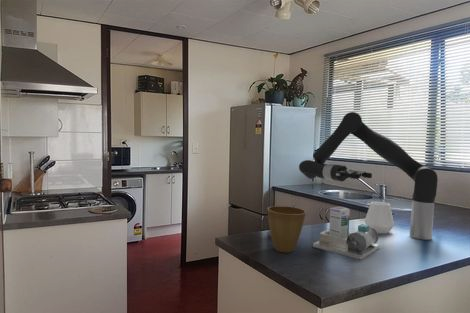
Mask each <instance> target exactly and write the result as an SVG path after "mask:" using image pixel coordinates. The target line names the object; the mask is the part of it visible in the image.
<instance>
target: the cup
mask: <svg viewBox="0 0 470 313" xmlns="http://www.w3.org/2000/svg"><path fill="white" fill-rule="evenodd" d="M364 223H365V225H369V227H371V228H373V229H375V230H376V231H377V233H378V234H382V233H386V234H389V233H390V232H391V230H392V229H393V227H394V226H395V223H394V218H393V213H392V208H391V204H390V203H388V202H384V201H371V202H370V204H369V207H368V209H367V213H366V216H365V219H364Z"/></svg>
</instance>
